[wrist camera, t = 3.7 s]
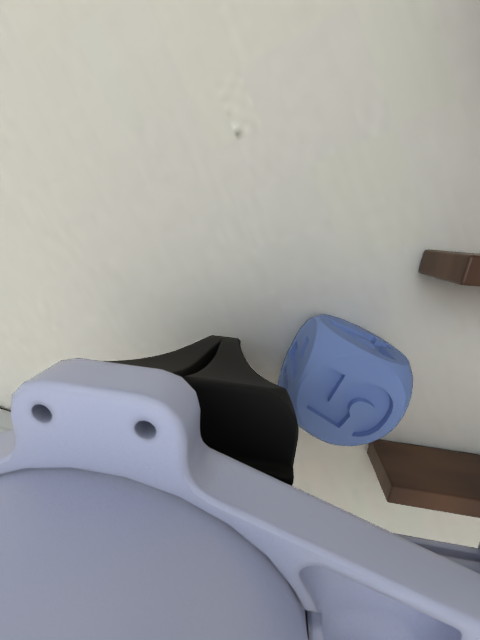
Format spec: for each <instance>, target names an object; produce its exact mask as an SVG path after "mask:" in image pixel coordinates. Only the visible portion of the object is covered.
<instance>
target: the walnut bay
mask: <svg viewBox="0 0 480 640" xmlns="http://www.w3.org/2000/svg"><path fill="white" fill-rule="evenodd" d="M419 272H420V273H422V274H426V275H429V276H433V277H436V278H440V279H443V280H447V281H450V282H454V283H457V284H461V285H468V286H479V287H480V254H473V253H461V252H449V251H437V250H425V252H424V255H423V258H422V262H421V265H420V269H419ZM367 453H368V456H369V458H370V461H371V463H372V466H373V468H374V470H375V473H376V475H377V478H378V480H379V483H380V485H381V487H382V490H383V492H384V495H385V497H386V500H387V501H388V502H390V503H396V504H401V505H407V506H413V507H419V508H425V509H431V510H437V511H443V512H449V513H454V514H460V515H466V516H472V517H478V518H480V455H476V454H470V453H463V452H456V451H450V450H443V449H436V448H430V447H423V446H416V445H410V444H403V443H396V442H389V441H383V440H375V441H373V442H370V444H369V448H368V451H367Z"/></svg>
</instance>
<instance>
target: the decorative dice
mask: <svg viewBox="0 0 480 640" xmlns="http://www.w3.org/2000/svg"><path fill="white" fill-rule="evenodd" d="M278 386H281V387H283V388H286V390H287V392H288V394H289V396H290V399H291V401H292V404H293V407H294V410H295V414H296V418H297V422H298V425H299V426H300V427H301V428H302V429H304V430H305V431H306V432H308V433H309V434H311V435H312V436H314V437H316V438H318V439H320V440H322V441H325V442H327V443H330V444H334V445H340V446H356V445H363V444H367V443H370V442H373V441H375V440H377V439H379V438H381V437H383V436H385V435H386V434H388V433H389V432H390V431H392V430H393V429H394V428H395V427H396V425H397V424H398V423H399V422H400V420H401V419H402V417H403V415H404V413H405V412H406V409H407V407H408V404H409V401H410V398H411V394H412V387H413V377H412V371H411V367H410V364H409V361H408V359H407V358H406V357H405V356H404V355H403V354H402V353H401V352H400V351H398V350H397V349H396V348H394V347H393V346H392V345H390V344H389V343H387V342H386V341H384V340H382V339H381V338H379V337H377V336H376V335H374V334H372V333H370V332H368V331H366V330H365V329H363V328H361V327H358V326H356V325H354V324H352V323H350V322H347V321H345V320H342V319H340V318H337V317H333V316H330V315H319V316H316V317H314V318H311V319H309V320H308V321H307V322H306V323H305V324H304V325H303V326H302V328H301V329H300V331H299V332H298V334H297V335H296V337H295V339H294V341H293V343H292V345H291V347H290V349H289V351H288V353H287V356H286V358H285V361H284V363H283V366H282V369H281V373H280V377H279V381H278Z"/></svg>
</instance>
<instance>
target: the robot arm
mask: <svg viewBox="0 0 480 640" xmlns="http://www.w3.org/2000/svg"><path fill="white" fill-rule="evenodd" d="M240 342H241V341H240V340H239V339H238V338H230V337H222V336H214V335H212V336H209V337H207V338H204V339H202V340H200V341H198V342H196V343H194V344H191V345H189V346H186V347H184V348H181V349H179V350H176V351H173V352H170V353H166V354H163V355H159V356H154V357H148V358H142V359H135V360H124V361H97V360H89V359H82V358H76V359H68V360H61V361H60V362H58V363H56V364H55V365H53V366H51V367H50V368H48V369H46V370H45V371H43V372H41V373H39V374H38V375H36V376H34V377H33V378H31V379H29V380H28V381H26V382H24V383H23V384H22V385H21V386H20V387H19V388H18V389H17V390H16V391H15V392H14V393H13V394H12V402H11V420H12V424H13V429H14V430H10V431H4V432H0V640H480V543H479V547H478V548H473V547H467V546H462V545H456V544H451V543H445V542H440V541H434V540H428V539H423V538H417V537H412V536H406V535H401V534H395V533H391V532H389V531H387V530H385V529H383V528H381V527H379V526H376V525H374V524H372V523H370V522H368V521H366V520H364V519H361V518H359V517H357V516H355V515H353V514H351V513H349V512H346V511H344V510H342V509H340V508H338V507H336V506H334V505H331V504H329V503H327V502H325V501H323V500H321V499H319V498H316V497H314V496H312V495H310V494H308V493H306V492H304V491H301V490H299V489H297V488H295V487H293V486H292V484H293V478H294V475H293V463H294V457H295V452H296V446H297V441H298V422H297V418H296V414H295V410H294V407H293V404H292V401H291V399H290V396H289V394H288V392H287V390H286V388H283V387H281V386H278V385H276V384H273V383H271V382H269V381H267V380H266V379H264V378H262V377H261V376H260V375H258V374H257V373H256V372H255V371H254V370H253V369H252V368H251V367H250V366H249V364H248V363H247V361H246V359H245V358H244V356H243V353H242V351H241V347H240Z"/></svg>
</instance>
